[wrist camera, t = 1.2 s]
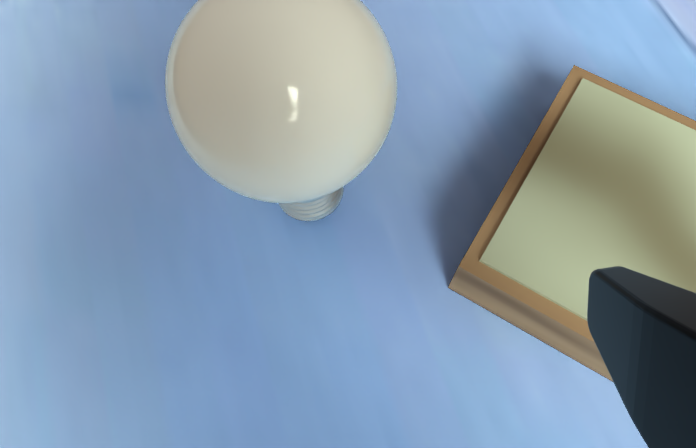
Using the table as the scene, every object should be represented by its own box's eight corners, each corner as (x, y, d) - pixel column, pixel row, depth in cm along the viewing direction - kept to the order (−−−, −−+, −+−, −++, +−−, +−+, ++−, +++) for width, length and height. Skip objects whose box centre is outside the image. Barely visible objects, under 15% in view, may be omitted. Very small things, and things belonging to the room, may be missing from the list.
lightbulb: (417, 166, 24) (450, -33, 14) (340, 301, 23) (311, 187, 12) (285, 102, 26) (225, -124, 15) (202, 225, 24) (71, 63, 14)
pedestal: (678, 418, 21) (728, 415, 18) (448, 287, 23) (459, 264, 20) (766, 210, 23) (824, 176, 20) (551, 106, 25) (575, 61, 22)
